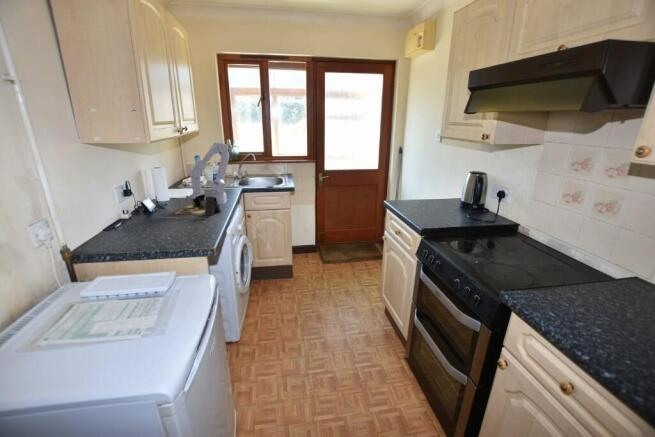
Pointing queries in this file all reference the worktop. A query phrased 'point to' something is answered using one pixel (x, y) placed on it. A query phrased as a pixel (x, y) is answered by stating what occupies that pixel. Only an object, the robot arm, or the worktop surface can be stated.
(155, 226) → the worktop surface
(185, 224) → the worktop surface
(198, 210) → the board
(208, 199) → the phone stand
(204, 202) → the bar
